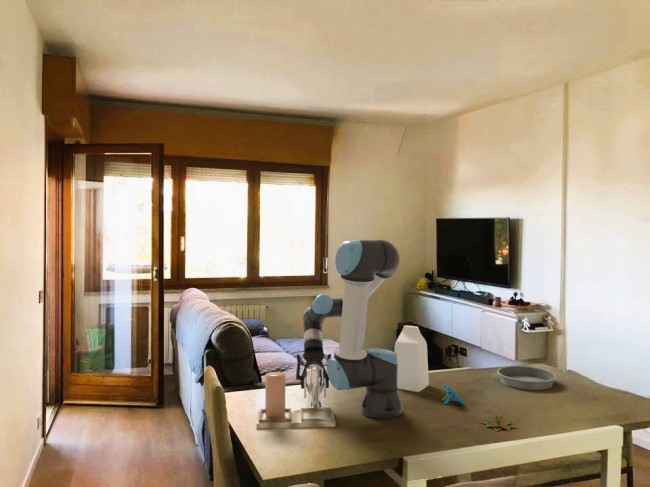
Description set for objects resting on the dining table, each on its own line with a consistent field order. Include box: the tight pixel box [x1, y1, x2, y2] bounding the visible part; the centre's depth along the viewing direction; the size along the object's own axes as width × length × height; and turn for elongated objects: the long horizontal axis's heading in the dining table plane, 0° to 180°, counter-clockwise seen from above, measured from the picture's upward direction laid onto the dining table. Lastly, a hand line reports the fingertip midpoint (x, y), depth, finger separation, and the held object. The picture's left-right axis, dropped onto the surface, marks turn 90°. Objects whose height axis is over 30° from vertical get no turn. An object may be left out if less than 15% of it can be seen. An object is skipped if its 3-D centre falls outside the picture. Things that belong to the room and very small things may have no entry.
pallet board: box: [256, 407, 336, 429], centre depth 192 cm, size 27×13×3 cm, turn 94°
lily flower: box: [480, 413, 518, 432], centre depth 187 cm, size 12×12×5 cm
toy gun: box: [442, 384, 465, 405], centre depth 211 cm, size 11×6×10 cm
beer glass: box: [305, 365, 324, 408], centre depth 204 cm, size 7×7×15 cm
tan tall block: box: [264, 371, 286, 419], centre depth 191 cm, size 7×7×15 cm
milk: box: [393, 325, 430, 393], centre depth 233 cm, size 12×12×26 cm
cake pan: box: [496, 365, 558, 391], centre depth 239 cm, size 25×25×4 cm
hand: (315, 395), depth 201 cm, fingers closed on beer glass, 7 cm apart
